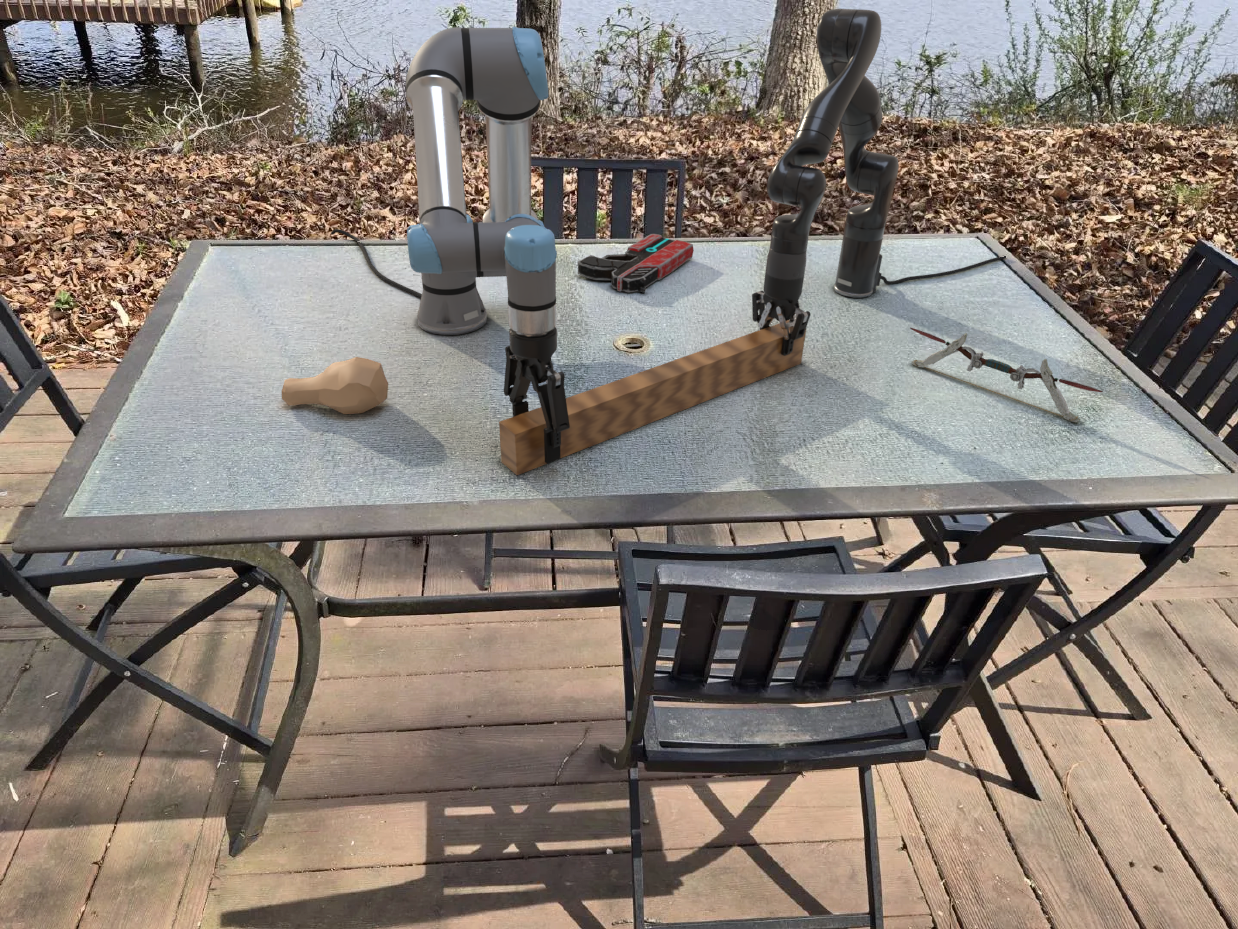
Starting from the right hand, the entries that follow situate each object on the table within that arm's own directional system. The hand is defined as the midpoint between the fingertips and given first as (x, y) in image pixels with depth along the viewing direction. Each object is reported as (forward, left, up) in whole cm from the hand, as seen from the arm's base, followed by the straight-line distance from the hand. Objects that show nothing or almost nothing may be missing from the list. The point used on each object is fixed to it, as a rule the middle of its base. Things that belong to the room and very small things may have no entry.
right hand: (774, 348), depth 180 cm
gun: (+1, -60, -4) cm, 60 cm away
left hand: (+57, +12, -2) cm, 59 cm away
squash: (+85, -20, -4) cm, 87 cm away
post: (+28, +6, -4) cm, 29 cm away
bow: (-34, +27, -4) cm, 44 cm away
